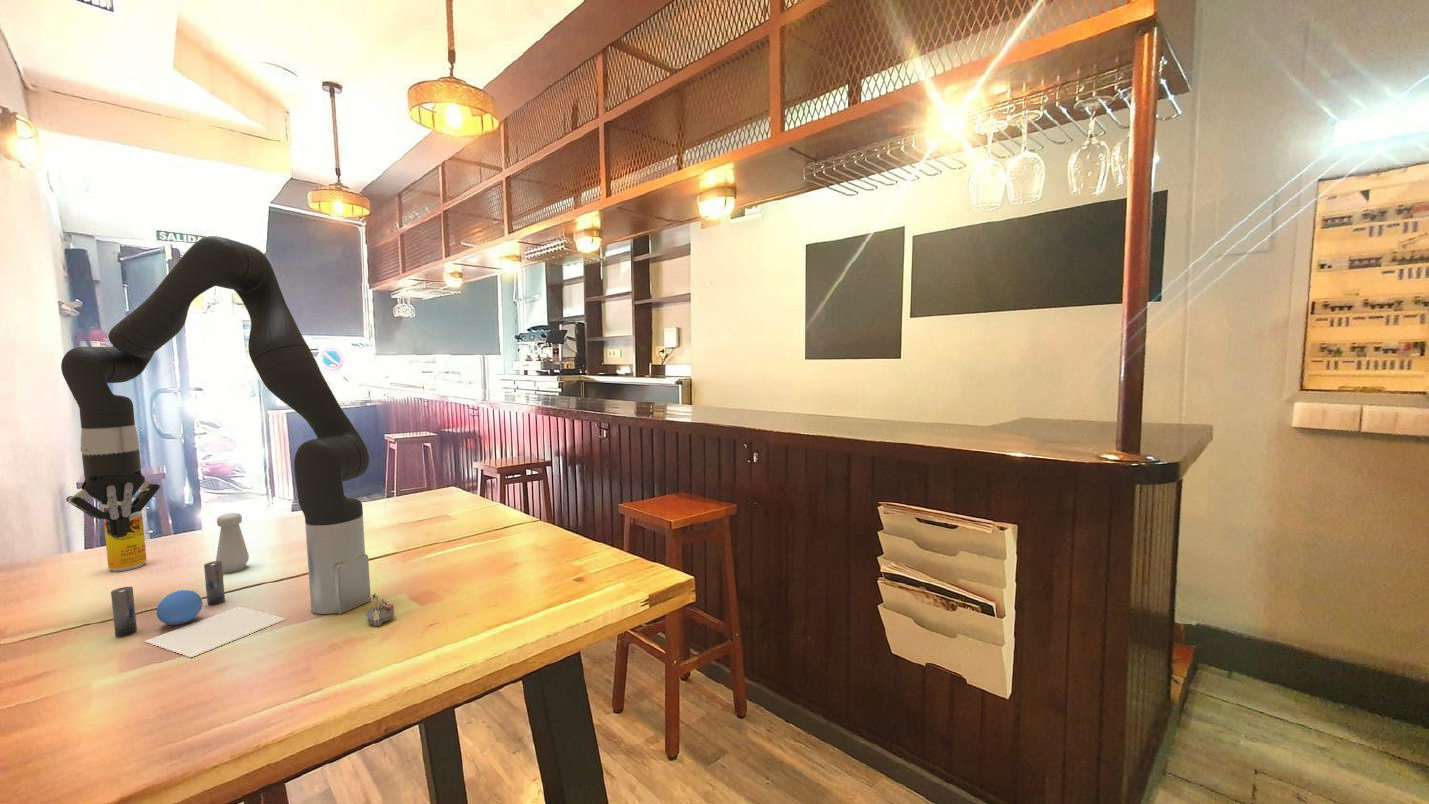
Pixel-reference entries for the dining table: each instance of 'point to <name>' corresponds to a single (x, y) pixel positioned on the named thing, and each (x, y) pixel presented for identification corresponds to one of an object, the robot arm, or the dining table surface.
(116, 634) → the left post
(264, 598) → the dining table surface
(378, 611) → the figurine
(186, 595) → the ball
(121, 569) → the beer can
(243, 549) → the salt shaker
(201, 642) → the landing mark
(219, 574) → the right post
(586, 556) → the dining table surface
